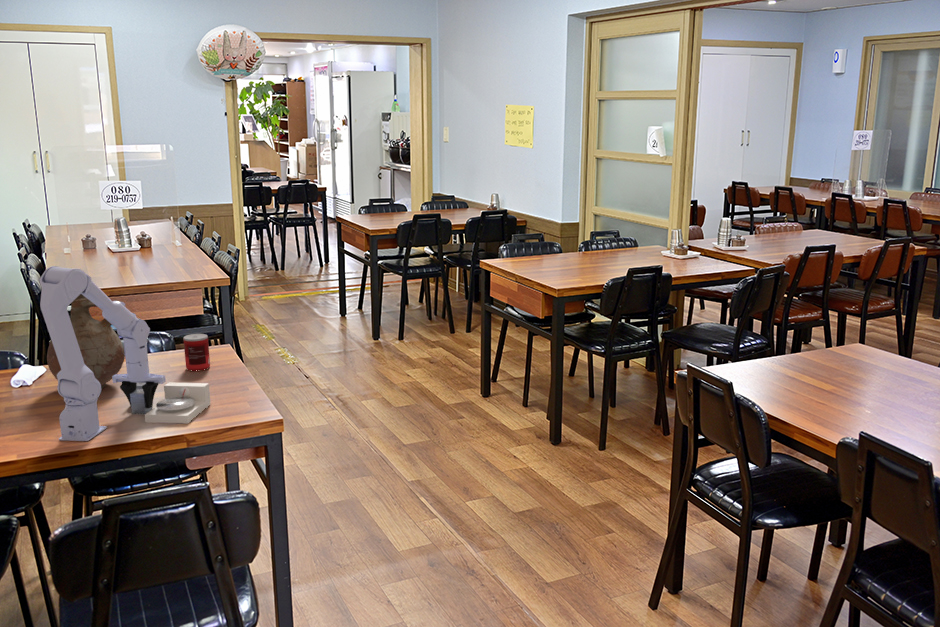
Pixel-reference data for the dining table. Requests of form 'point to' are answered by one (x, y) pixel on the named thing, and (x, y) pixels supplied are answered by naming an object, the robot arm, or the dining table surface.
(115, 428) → the dining table surface
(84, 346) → the jug
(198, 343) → the canned food
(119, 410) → the dining table surface
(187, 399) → the pan
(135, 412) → the block
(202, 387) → the scale
